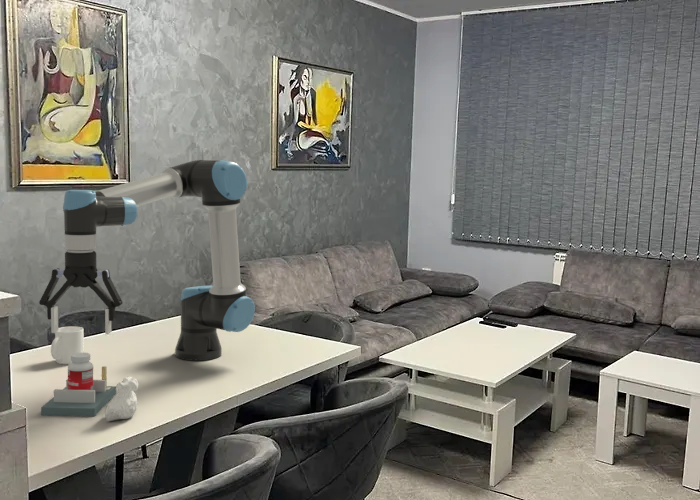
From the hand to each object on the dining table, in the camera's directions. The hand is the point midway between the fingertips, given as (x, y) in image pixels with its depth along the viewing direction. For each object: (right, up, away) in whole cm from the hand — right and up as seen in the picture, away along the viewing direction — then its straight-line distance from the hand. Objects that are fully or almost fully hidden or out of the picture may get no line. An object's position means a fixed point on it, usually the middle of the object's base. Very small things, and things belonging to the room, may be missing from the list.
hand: (81, 332), depth 181 cm
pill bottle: (-1, -17, +1) cm, 17 cm away
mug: (-20, -14, +38) cm, 45 cm away
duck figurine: (+13, -20, -7) cm, 25 cm away
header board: (-1, -19, +1) cm, 19 cm away
